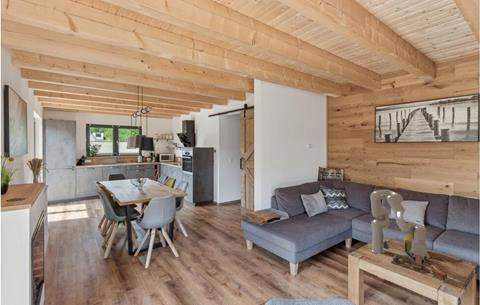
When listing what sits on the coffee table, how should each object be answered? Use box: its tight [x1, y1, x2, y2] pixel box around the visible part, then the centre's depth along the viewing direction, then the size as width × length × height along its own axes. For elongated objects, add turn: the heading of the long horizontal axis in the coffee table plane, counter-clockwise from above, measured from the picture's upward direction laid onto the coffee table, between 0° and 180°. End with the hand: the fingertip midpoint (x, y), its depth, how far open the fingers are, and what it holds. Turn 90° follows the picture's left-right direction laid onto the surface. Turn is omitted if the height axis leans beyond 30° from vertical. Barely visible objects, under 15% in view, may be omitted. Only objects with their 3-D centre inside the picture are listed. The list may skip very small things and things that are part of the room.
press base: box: [390, 253, 426, 274], centre depth 202 cm, size 22×12×6 cm, turn 43°
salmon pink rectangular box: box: [413, 255, 424, 270], centre depth 197 cm, size 5×8×13 cm, turn 133°
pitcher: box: [402, 232, 414, 248], centre depth 229 cm, size 17×19×25 cm
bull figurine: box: [429, 264, 448, 283], centre depth 186 cm, size 4×13×8 cm, turn 7°
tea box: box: [404, 240, 426, 264], centre depth 214 cm, size 15×10×15 cm
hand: (418, 262), depth 197 cm, fingers closed on salmon pink rectangular box, 4 cm apart
